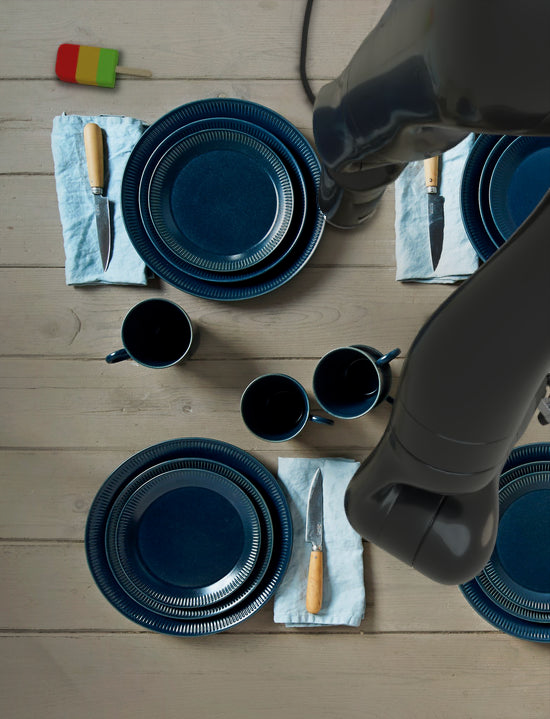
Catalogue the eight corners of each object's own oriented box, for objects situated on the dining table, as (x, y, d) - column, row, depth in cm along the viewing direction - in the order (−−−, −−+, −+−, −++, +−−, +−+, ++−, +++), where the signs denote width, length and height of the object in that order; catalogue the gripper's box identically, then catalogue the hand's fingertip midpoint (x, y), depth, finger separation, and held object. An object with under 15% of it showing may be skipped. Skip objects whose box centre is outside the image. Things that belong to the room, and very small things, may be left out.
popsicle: (62, 47, 89) (57, 40, 88) (155, 59, 89) (152, 52, 87) (57, 82, 90) (52, 76, 88) (150, 94, 89) (147, 88, 87)
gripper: (579, 446, 48) (610, 361, 60) (473, 317, 49) (524, 256, 60) (507, 472, 54) (548, 390, 65) (412, 356, 54) (469, 294, 65)
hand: (536, 326), depth 62 cm, fingers open, 8 cm apart
